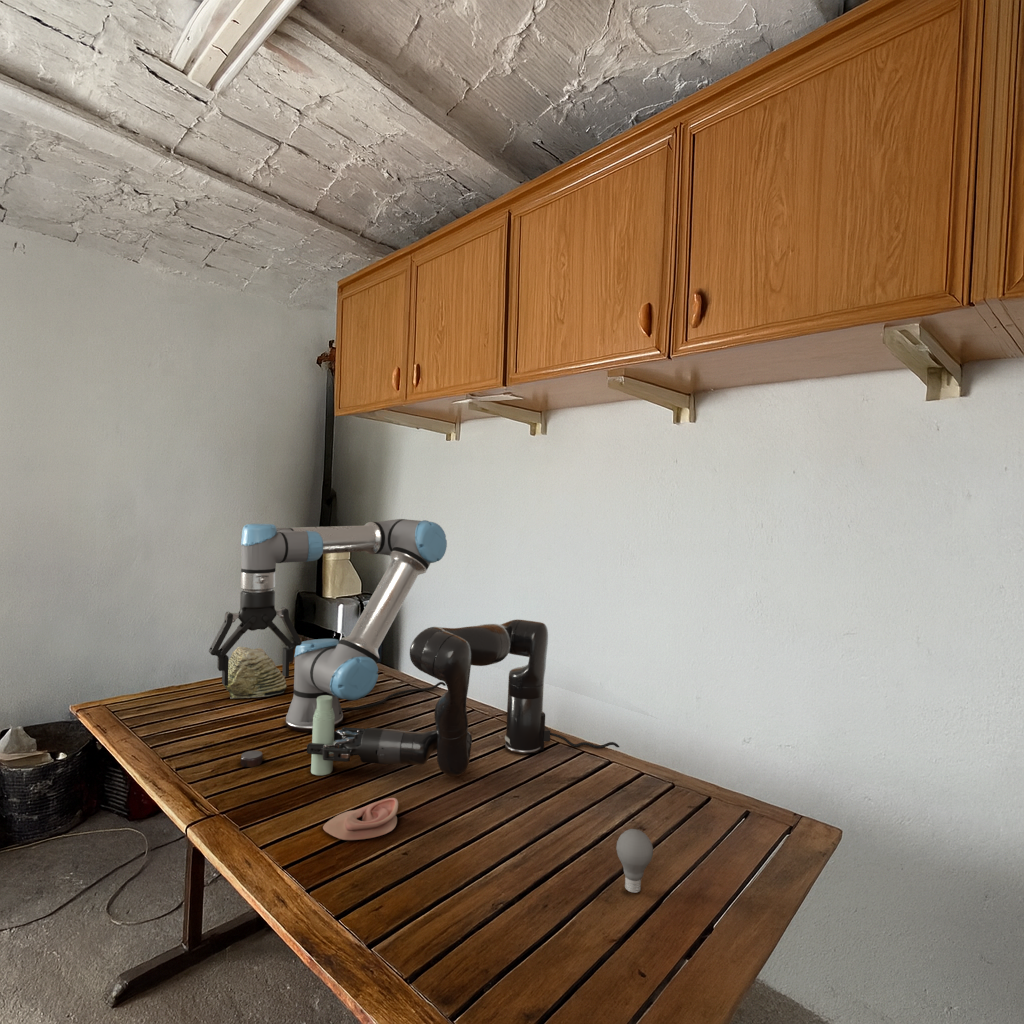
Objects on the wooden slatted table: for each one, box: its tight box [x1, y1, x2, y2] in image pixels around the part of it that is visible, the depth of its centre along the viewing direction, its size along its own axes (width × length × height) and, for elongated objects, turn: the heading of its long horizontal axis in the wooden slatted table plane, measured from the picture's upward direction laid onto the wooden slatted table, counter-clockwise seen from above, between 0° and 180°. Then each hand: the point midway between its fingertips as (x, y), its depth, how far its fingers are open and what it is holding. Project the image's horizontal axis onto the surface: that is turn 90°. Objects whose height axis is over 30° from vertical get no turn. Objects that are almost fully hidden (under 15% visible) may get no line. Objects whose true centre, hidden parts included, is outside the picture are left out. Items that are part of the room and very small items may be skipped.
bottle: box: [310, 695, 335, 776], centre depth 146 cm, size 5×5×17 cm
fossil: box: [223, 646, 288, 699], centre depth 198 cm, size 9×18×15 cm, turn 132°
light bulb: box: [615, 828, 654, 894], centre depth 106 cm, size 6×6×10 cm
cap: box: [240, 750, 264, 768], centre depth 149 cm, size 5×5×2 cm
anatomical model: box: [322, 797, 399, 841], centre depth 122 cm, size 13×4×12 cm
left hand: (256, 679), depth 149 cm, fingers open, 13 cm apart
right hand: (314, 741), depth 146 cm, fingers open, 7 cm apart
